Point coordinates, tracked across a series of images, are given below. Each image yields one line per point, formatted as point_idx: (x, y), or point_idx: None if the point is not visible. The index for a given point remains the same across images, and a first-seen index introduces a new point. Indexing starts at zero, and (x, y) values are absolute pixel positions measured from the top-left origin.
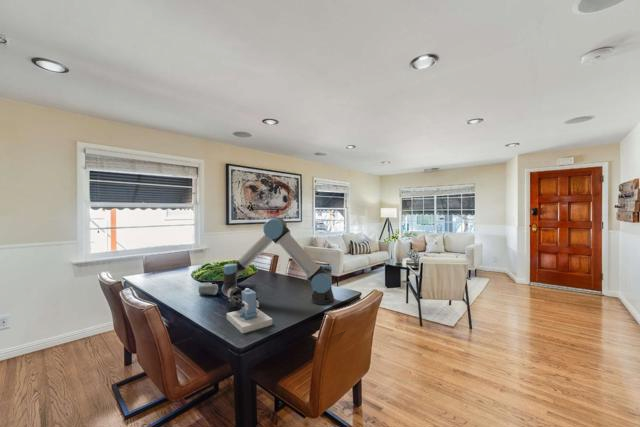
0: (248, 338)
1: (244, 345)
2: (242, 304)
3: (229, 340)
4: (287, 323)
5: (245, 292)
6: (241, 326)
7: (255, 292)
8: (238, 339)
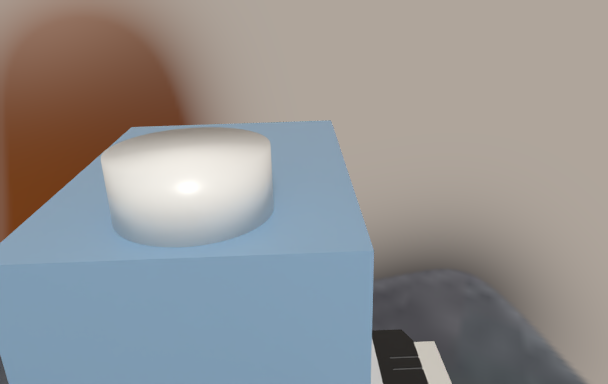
0: (398, 316)
1: (440, 273)
2: (402, 331)
3: (545, 348)
4: (2, 365)
5: (312, 162)
6: (440, 357)
7: (139, 129)
8: (472, 333)
